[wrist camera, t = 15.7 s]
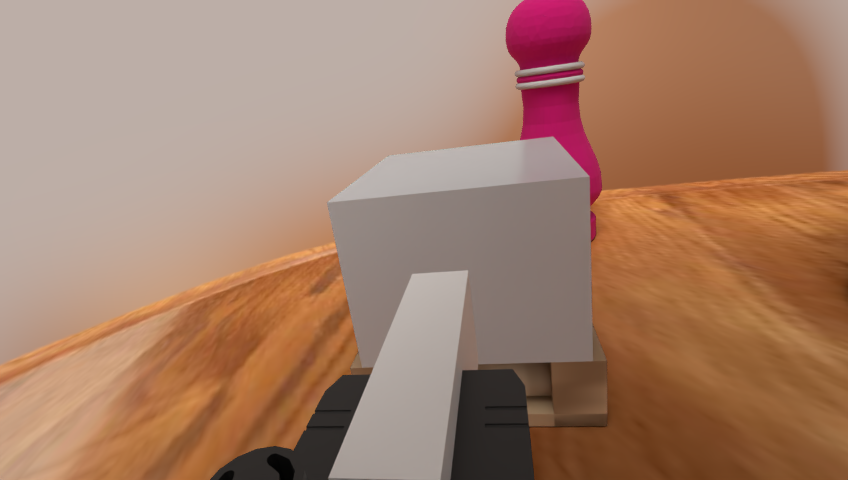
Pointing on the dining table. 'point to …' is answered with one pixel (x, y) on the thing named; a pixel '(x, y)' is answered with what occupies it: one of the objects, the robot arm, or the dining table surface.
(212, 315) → the dining table surface
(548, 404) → the roller bed
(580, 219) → the light grey cube
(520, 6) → the pepper mill
